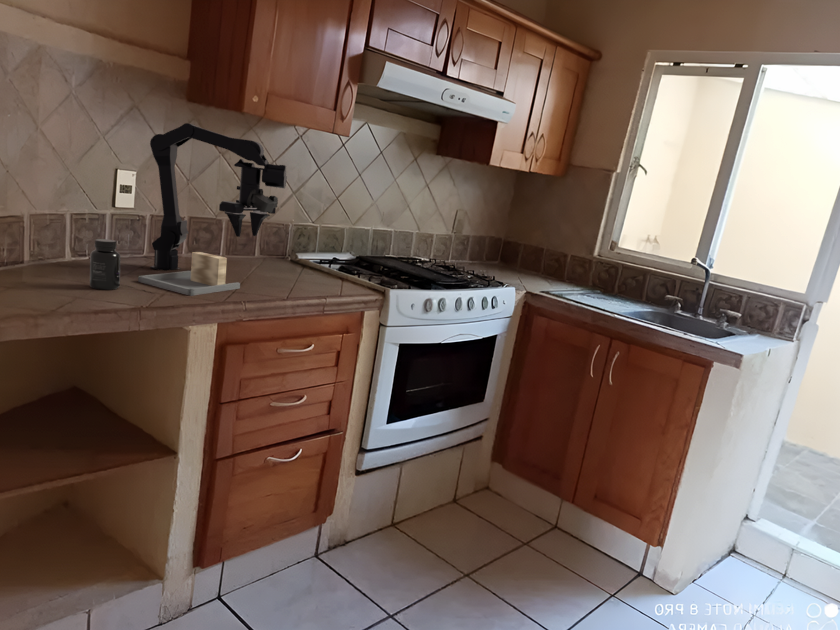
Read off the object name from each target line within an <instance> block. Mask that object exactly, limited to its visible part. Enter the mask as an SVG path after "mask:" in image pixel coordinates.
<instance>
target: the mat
mask: <svg viewBox="0 0 840 630" xmlns="http://www.w3.org/2000/svg"><path fill="white" fill-rule="evenodd" d="M137 282H138V283H141V284H145V285H149V286H153V287H156V288H160V289H163V290H168V291H171V292H174V293H175V292H176V293H178V294H183V295H184V296H185V295H186V296H190V297H192V296H194V297H195V296H198V295H206V294H211V293H212V294H213V293H219V292H225V291H226V292H227V291H232V290H237V289H241V282H230V283H225V284H222V285H215V286H211V285H207V284H203V283H199V282H195V281H191V270H184V271H176V272H175V271H173V272H165V273H164V272H163V273H155V274H145V275H144V274H143V275H138V276H137Z"/></svg>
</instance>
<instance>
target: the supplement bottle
mask: <svg viewBox="0 0 840 630" xmlns="http://www.w3.org/2000/svg"><path fill="white" fill-rule="evenodd" d="M94 248H95V249H94V250H92V251H91V252H90V254H89V256H90V257H89V258H90V259H89V286H90V287H91V289H95V290H103V291H106V290H107V291H109V290H111V291H112V289H113V290H117V288H118V289H119V288H120V287H121V286H120V284H121V254H120V252H118V251H117V250H116V249H117V240H113V239H106V238H98V239H94Z"/></svg>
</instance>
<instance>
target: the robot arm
mask: <svg viewBox="0 0 840 630" xmlns="http://www.w3.org/2000/svg"><path fill="white" fill-rule="evenodd" d="M190 140H196V141H199V142H203V143H205V144H209V145H212V146H214V147H218V148H222V149H223V150H224V149H225V150H226V151H227V150H228V151H230V152H232V153H233V154H235V155H237V156H239V157H241V158H240V159H239V160H238V161H237V162H235V163H234V164H233V166H234V167H235V168H240V179H239V180H240V182H239V185H236V190H238V191H239V194H238V195H239V197H238V199H236V200H235V201H230V200H229V201H228V200H227V201H226V200H225V201H224V200H223V201H221V202H220V203H219V204H218V205H219V207H218V211H220V212H224V214H225V215H226V216H227V218H228V220H229V221H230V224H231V226H232V229H233V231H234V234H235V236H236V237H238V238H240V237H241V234H242V233H241V232H242V228H243V227H242V226H243V219H244V218H245V217H247V215H246V214H244V212H246V211H250V212H249V216H250V218H249V219H250V225H251V227H250V228H251V233H252V236H253V237H257V235H258V233H259V231H260V228H261V225H263V221H264V220H265V219H266V218H268V217H270V216H271V214H276V208H278V201H279V200H278V199H279V197H277V196H275V195H270V196H269V195H268V196H267V195H264V190H263V188H261V182H262V183H263V184H264V185H265V187H269V188H277V189H278V188H279V189H286V185H287V179H288V176H287V166H286V165H285V164H273V163H271V164H270V162H269V161H268V160H267V158H266V155H264V151H265V150H264V147H263V145H262V144H261V143H260V142H259V141H255V140H250V139H245V138H244V139H241V138H236V137H235V138H234V137H230V136H227V135H224V134H221V133H219V132H214V131H212V130H209V129H206V128H202V127H200V126H197V125H195V124H193V123H189V122H186V123H184V124H182V125H181V126H179V127H176V128H174V129H172V130H169V131H167V132H164V133H159V134H154V135H153V136H152V138H150V143H149V144H150V149H151V152H152V155H153V159H154V160H155V163H156V165H157V167H158V174H159V175H158V176H159V186H160V194H161V201H162V202H161V203H162V213H163V217H162V221H161V225H160V236H159V237H158V238H156V239H155V240H154V241H152V242H151V245H152V248H153V250H154V257H153V258H154V260H153V261H154V264H153V265H151V266H149V268H150V269H153V270H157V271H164V272H165V271H166V272H167V271H174V270H175V271H176V270H177V271H178V270H181V269H182V268H181V267H179V253H178V252H179V250H177V249H179V247H180V245H181V244H182V243H184V242H185V241H186V239H187V236H188V234H189V233H190V231H188V220H187V219H184V220H182V217H181V215H180V208H179V199H178V198H179V197H178V190H177V189H178V188H177V180H176V169H175V165H176V161H177V158H178V148H179V147H181V146H183V145H184V144H186V143H188V141H190ZM242 158H243V159H242ZM244 159H245V160H246V161H249V162H246V161H244ZM250 161H251V162H250ZM255 164H256V165H257V167H256V166H255ZM258 166H261V167H258ZM262 167H263V168H262Z"/></svg>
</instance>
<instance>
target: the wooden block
mask: <svg viewBox="0 0 840 630" xmlns="http://www.w3.org/2000/svg"><path fill="white" fill-rule="evenodd" d="M227 261H228V258H227V257H225V256H220V255H215V254H211V253H207V252H203V251H195V252H193V251H192V252H191V263H190V264H191V266H190V267H191V269H190V271H191V281H195V282H199V283H203V284H207V285H211V286H215V285H222V284H226V280H227V279H226V277H227V264H228V263H227Z"/></svg>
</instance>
